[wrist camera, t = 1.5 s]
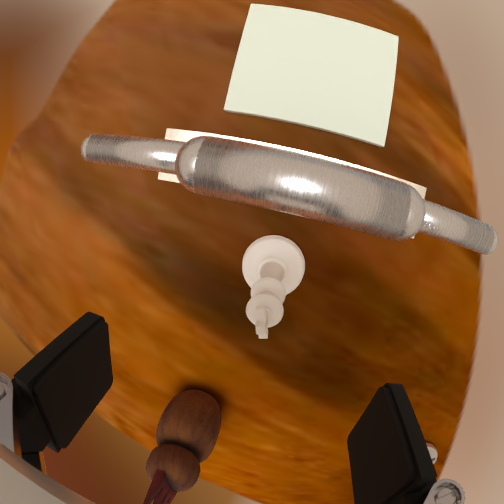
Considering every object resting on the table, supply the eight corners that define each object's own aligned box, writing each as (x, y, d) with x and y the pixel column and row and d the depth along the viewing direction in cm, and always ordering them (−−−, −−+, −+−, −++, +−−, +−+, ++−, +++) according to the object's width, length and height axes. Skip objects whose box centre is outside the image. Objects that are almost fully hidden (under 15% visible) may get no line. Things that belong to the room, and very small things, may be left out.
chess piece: (303, 232, 22) (312, 278, 12) (306, 293, 23) (313, 369, 14) (239, 237, 23) (201, 283, 13) (245, 295, 24) (217, 370, 14)
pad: (381, 147, 19) (384, 146, 19) (226, 111, 20) (223, 109, 20) (395, 40, 17) (398, 36, 16) (252, 8, 17) (251, 3, 17)
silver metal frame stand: (408, 235, 21) (559, 342, 5) (164, 178, 22) (-24, 206, 6) (420, 187, 20) (596, 229, 4) (173, 130, 21) (-10, 88, 5)
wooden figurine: (178, 372, 27) (113, 488, 13) (232, 390, 27) (193, 519, 13) (171, 411, 29) (121, 513, 15) (219, 427, 29) (184, 536, 14)
